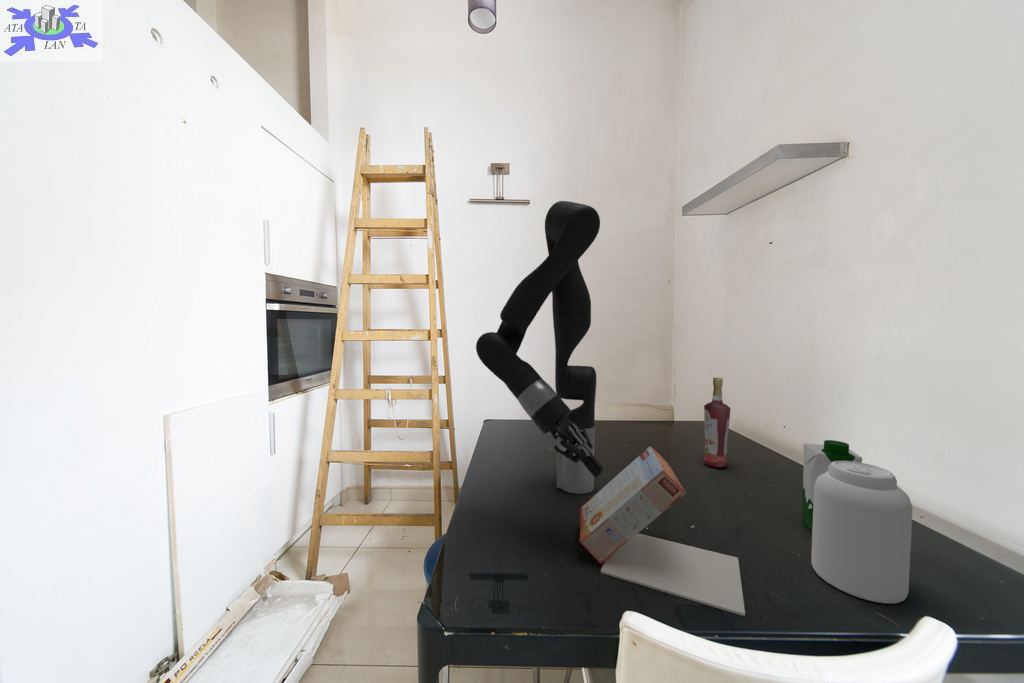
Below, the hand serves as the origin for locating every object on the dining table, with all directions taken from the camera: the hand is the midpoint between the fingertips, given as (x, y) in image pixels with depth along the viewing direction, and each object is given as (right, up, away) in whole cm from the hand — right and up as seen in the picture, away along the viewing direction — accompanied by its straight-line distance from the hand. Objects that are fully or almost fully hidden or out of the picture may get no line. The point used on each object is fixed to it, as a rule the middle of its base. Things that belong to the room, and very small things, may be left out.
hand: (599, 473), depth 75 cm
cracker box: (-2, -13, +2) cm, 13 cm away
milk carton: (+51, -15, +7) cm, 54 cm away
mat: (+12, -15, -5) cm, 20 cm away
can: (+43, -16, -9) cm, 46 cm away
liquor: (+47, -14, +46) cm, 67 cm away
